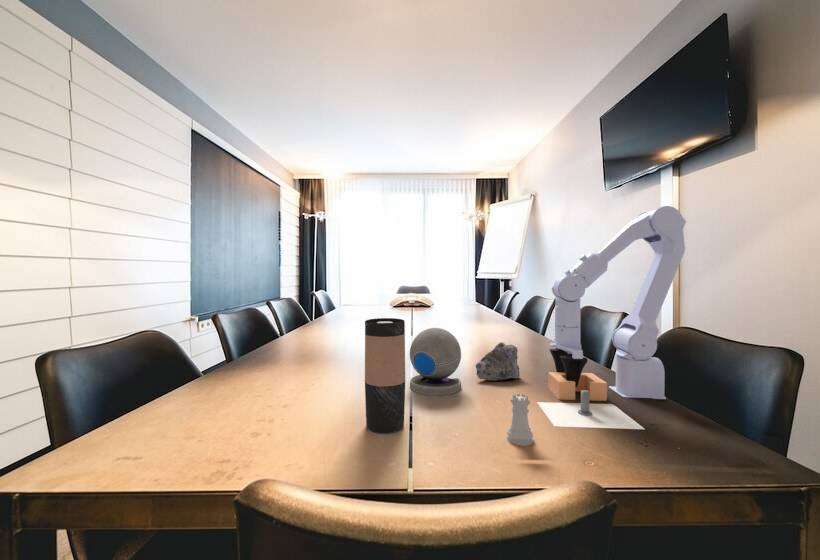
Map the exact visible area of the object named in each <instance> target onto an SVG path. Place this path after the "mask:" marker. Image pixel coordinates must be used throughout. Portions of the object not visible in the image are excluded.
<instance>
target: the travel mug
mask: <svg viewBox="0 0 820 560" xmlns="http://www.w3.org/2000/svg"><path fill="white" fill-rule="evenodd" d="M405 323H406V322H405V320H404V319H403V318H391V317H390V318H389V317H384V318H383V317H382V318H379V317H378V318H369V319H366V320H365V321H364V395H365V396H364V397H365V423H366V424H365V425H366V428H367V430H368V431H370V432H372V433H375V434H381V435H382V434H384V435H385V434H386V435H387V434H393V433H396V432H399V431H401V430H402V429H403V428H404V425H405V406H406V405H405V401H406V400H405V399H406V329H405V328H406V325H405Z"/></svg>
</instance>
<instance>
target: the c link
mask: <svg viewBox="0 0 820 560" xmlns="http://www.w3.org/2000/svg"><path fill="white" fill-rule="evenodd" d="M547 374H548V376H547V378H548V379H547V389H548V390H549V391H550V392H551V393H552V394H553V395H554V396H555V398H556V399H558V400H560V401H561V400H563V401H564V400H565V401H567V400H569V401H572V400H573V401H575V400H576V392H579V393H581V390H587V391H589V392H590V401H597V402H598V401H601V402H602V401H603V402H606V401H608V382H606V381H605V380H603V379H602V378H600V377H599V376H597V375H596V374H595V373H593V372H581V375H580V379H579V383H578V386H577V387H575V382H574V381H567V380H566V375H565V373H563V372H556V371H555V372H553V371H551V372H550V371H548V373H547Z"/></svg>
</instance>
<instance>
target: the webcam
mask: <svg viewBox="0 0 820 560" xmlns="http://www.w3.org/2000/svg"><path fill="white" fill-rule="evenodd" d="M461 359H462V349H461V345H460V343H459V341H458V339H457V337H456V336H455V335H454V334H453V333H451V332H450V331H449V330H447V329H443V328H440V327H430V328H427V329H424V330H422V331H421V332H419V333H418V334H417V335H416V336H415V337H414V338H413V340H412V342H411V345H410V347H409V360H410V363H411V365H412V367H413V369H414V371H416V373H417V375H415V376H413V377H411V379H410V381H409V388H410V389H411V391H414V392H416V393H419V394H423V395H429V396H431V395H432V396H442V395H443V396H444V395H450V394H455V393H457V392H459V391H460V390H461V389H462V381H461V379H460V378H458V377H456V378H455V377H453V378H450V377H451V376H452V375H453V374H454V373H455V372H456V371H457V369H458V367H460V363H461Z"/></svg>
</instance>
